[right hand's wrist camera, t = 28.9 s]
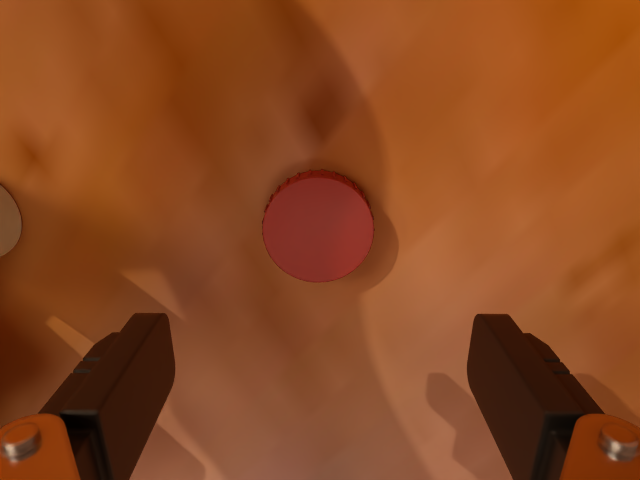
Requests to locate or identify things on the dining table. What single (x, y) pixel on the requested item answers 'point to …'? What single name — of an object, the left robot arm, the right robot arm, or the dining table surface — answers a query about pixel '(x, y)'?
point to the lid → (318, 226)
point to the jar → (8, 222)
